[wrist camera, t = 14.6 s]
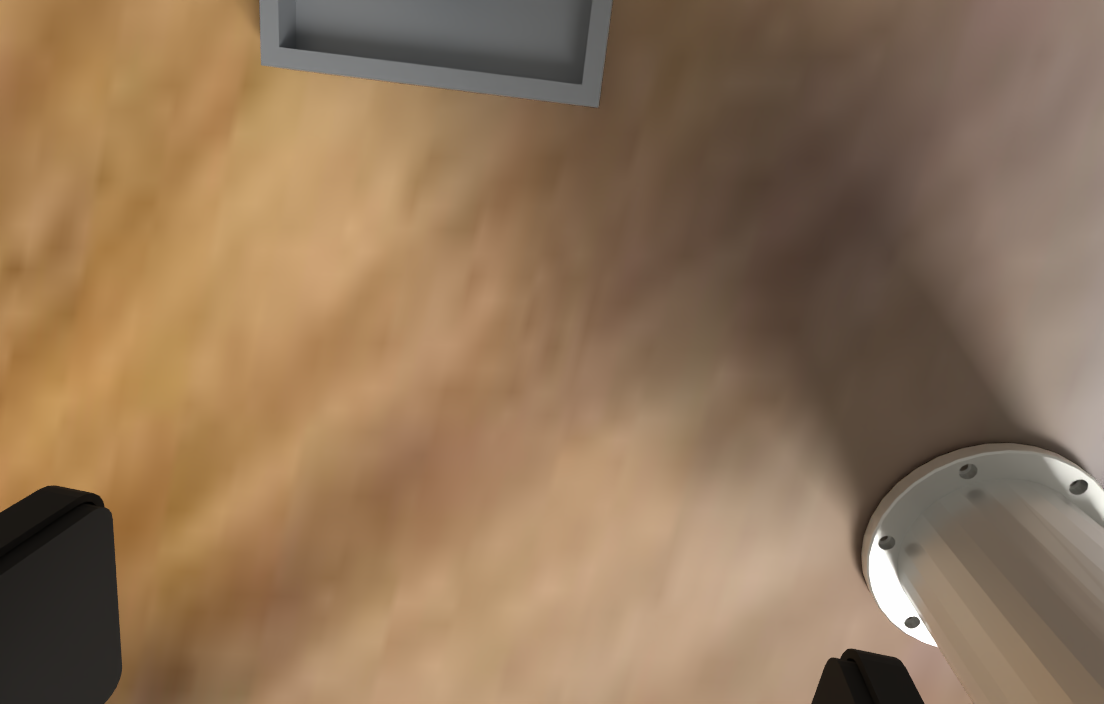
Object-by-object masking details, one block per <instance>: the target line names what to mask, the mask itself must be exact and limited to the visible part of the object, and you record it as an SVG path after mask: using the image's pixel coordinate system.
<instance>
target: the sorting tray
mask: <svg viewBox="0 0 1104 704" xmlns="http://www.w3.org/2000/svg"><path fill="white" fill-rule="evenodd" d="M612 5H613V0H260V40H261V65H264V66H270V67H277V68H283V69H290V70H298V71H306V72H314V73H322V74H330V75H338V76H346V77H354V78H362V79H370V80H378V81H386V82H394V83H402V84H410V85H418V86H426V87H434V88H442V89H450V90H458V91H466V92H474V93H482V94H489V95H497V96H505V97H513V98H521V99H529V100H537V101H545V102H553V103H561V104H569V105H577V106H585V107H593V108H599V103H600V95H601V88H602V80H603V73H604V65H605V58H606V50H607V43H608V35H609V28H610V20H611V13H612Z"/></svg>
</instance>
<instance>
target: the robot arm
mask: <svg viewBox="0 0 1104 704" xmlns="http://www.w3.org/2000/svg"><path fill="white" fill-rule="evenodd" d="M861 558H862V569H863V574H864V577H865V580H866V583H867V586H868V589H869V591H870V593H871V594H872V596H873V598H874V600H875V602H876V603H877V605H878V607H879V608H880V609H881V611H882V612H883V613H884V614H885V616H886V617H887V618H888V619H889V621H890V622H892V623H893V624H894V625H895V626H896V627H897V628H899V629H900V630H901V631H903V632H904V633H906V634H908V635H909V636H911V637H913V638H915V639H917V640H919V641H921V642H923V643H926V644H929V645H933V646H936V647H938V648H939V650H940V651H941V653H942V654H943V656H944V657H945V659H946V661H947V662H948V664H949V665H950V667H951V669H952V670H953V672H954V673H955V675H956V677H957V678H958V680H959V681H960V683H961V685H962V686H963V688H964V689H965V691H966V692H967V694H968V696H969V697H970V699H971V700H972V702H973V704H1104V489H1103V488H1102V487H1101V485H1100V484H1099V483H1098V482H1097V481H1096V480H1095V479H1094V478H1093V477H1092V476H1091V475H1089V474H1088V473H1087V472H1085V471H1084V470H1083V469H1081V468H1080V467H1079V466H1078V465H1076V464H1075V463H1073V462H1071V461H1069V460H1068V459H1066V458H1064V457H1062V456H1061V455H1059V454H1057V453H1054V452H1051V451H1048V450H1045V449H1042V448H1039V447H1036V446H1029V445H1022V444H1015V443H995V444H983V445H977V446H972V447H967V448H962V449H959V450H956V451H953V452H950V453H947V454H945V455H942V456H939V457H937V458H935V459H933V460H931V461H929V462H928V463H926V464H924V465H922V466H920V467H918V468H916V469H915V470H914V471H913V472H911V473H910V474H909V475H907V476H906V477H905V478H903V479H902V480H901V481H899V482H898V483H897V484H896V485H895V486H894V487H893V488H892V489H891V491H890V492H889V493H888V494H887V495H886V496H885V497H884V498H883V499H882V501H881V502H880V504H879V505H878V507H877V509H876V510H875V512H874V513H873V515H872V516H871V519H870V521H869V524H868V526H867V529H866V532H865V534H864V539H863V546H862V552H861ZM121 673H122V658H121V643H120V627H119V611H118V595H117V580H116V564H115V548H114V532H113V518H112V514H111V512H110V511H109V509H107V508H105V507H104V503H103V500H102V499H101V498H100V496H98V495H96V494H94V493H89V492H85V491H80V490H75V489H70V488H65V487H60V486H46V487H44V488H42V489H39V490H37V491H36V492H34V493H32V494H31V495H29V496H27V497H26V498H24V499H22V500H21V501H19V502H17V503H16V504H14V505H12V506H11V507H9V508H7V509H6V510H4V511H2V512H1V513H0V704H104V703H105V702H106V701H107V700H108V699H109V698H110V696H111V695H112V694H113V692H114V690H115V689H116V687H117V684H118V682H119V680H120V676H121ZM812 704H924V702H923V700H922V698H921V696H920V694H919V692H918V690H917V689H916V687H915V685H914V683H913V681H912V679H911V677H910V675H909V673H908V671H907V669H906V667H905V666H904V665H903V663H902V662H901V661H900V660H899V659H897V658H895V657H890V656H885V655H881V654H876V653H871V652H866V651H861V650H856V649H847V650H846V651H845V652H844V653H843V654H842V656H841V658H840V659H838V658H830V659H829V660H828V661H827V663H826V665H825V667H824V670H823V673H822V676H821V679H820V681H819V684H818V687H817V690H816V692H815V695H814V698H813V701H812Z"/></svg>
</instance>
